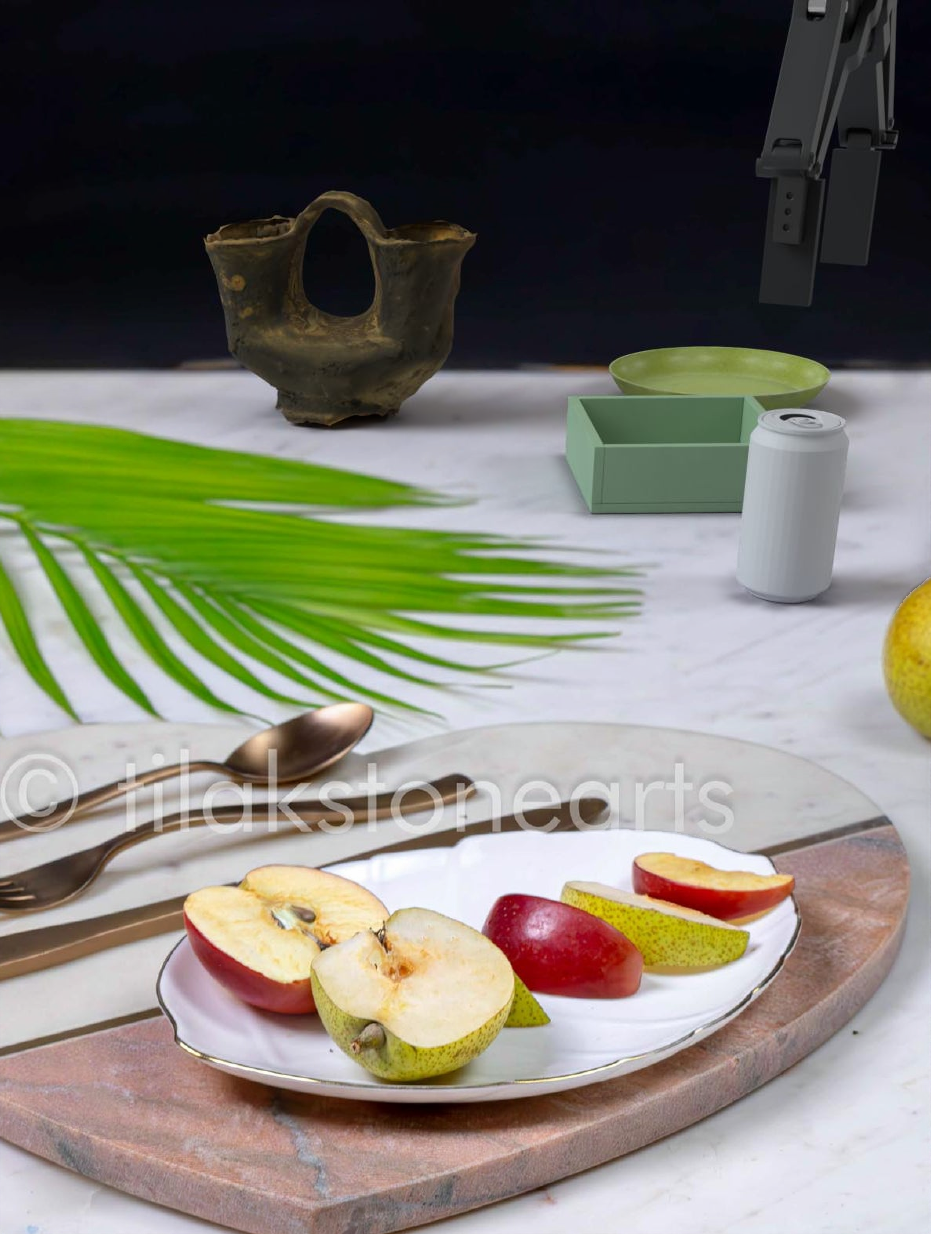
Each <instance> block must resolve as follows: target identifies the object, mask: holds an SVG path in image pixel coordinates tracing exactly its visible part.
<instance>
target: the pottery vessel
mask: <svg viewBox="0 0 931 1234" xmlns="http://www.w3.org/2000/svg"><path fill="white" fill-rule="evenodd" d="M329 208H333V209H336V210H337V211H340V212H342V213H344V214H346V215H348V216H349V217H350V218H351V220H352V221H353V222H354V223H355V224H356V225H357V227H358V228H359V230H360V231H361V233H362V234H363V236H364V237H365V239H366V242H367V245H368V251H369V255H370V259H371V263H372V267H373V272H374V279H375V281H374V282H375V292H374V298H373V301H372V304H371V306H370V307H369V308H368V309H367V310H366V311H365V312H363V313H361V314H359V315H356V316H339V315H334V314H330V313H328V312H325V311H323V310H321V309H319V308H317V307H315V306H314V305H313V304H311V303H310V301H309V300H308V299H307V297H306V293H305V290H304V283H303V263H304V257H305V251H306V246H307V241H308V236H309V233H310V231H312V230H311V229H312V228H313V226H314V225H315V223H316V222H317V220H319V218H320V217H321V214H322V213H323V212H324V211H326V209H329ZM477 235H478V232H477V233H472V232H470V231H469V230H467V229H465V228H463V227H462V226H460V225H459V224H458V223H453V222H452V223H451V222H448V221H445V220H434V221H433V220H431V221H417V222H412V223H408V224H401V225H399V226H397V227H394V228H392V229H388V228H386V227H385V226H384V224H383V221H382V219H381V217H380V216H379V214H378V212H377V211H376V210H375V208H373V207H372V206H371V203H370V202H369V201H367V200H365V199H363V198H362V197H361V196H357V195H355V194H354V193H351V192H348V191H336V190H330V191H326V192H324V193H322V194H321V195H318V197H317V198H316V199H315V200H314V201H312V202H310V204H309V205H308V206H306V208H305V209H304V210H303V211H302V212H300V213H299V214H298V216H296V218H293V217H287V218H286V217H283V216H281V215H277V214H276V215H274V216H273V217H272V218H266V219H254V220H249V221H240V222H234V223H229V224H226V225H222V226H220V227H219V230H217V231H216V232H215V233H213V234H212V233H211V234H207V237H206V238H205V237H203V241H204V245H205V251H206V253H207V255H208V258H209V260H210V262H211V266H212V268H213V271H214V274H215V276H216V277H215V278H216V281H217V285H218V286H217V287H218V292H219V297H220V301H221V305H222V309H223V313H224V320H225V321H224V322H225V330H226V337H227V343H228V352H229V353H231V355H232V357H233V358H234V359H236V361H237V362H238V363H240V364H241V365H242V366H243V367H244V368H245V369H247V370H248V371H250V372H251V373H253V374H254V375H255V376H256V377H259V378H260V379H262V380H263V381H264V382H265V383H267V384H268V385H269V386H270V387H272V388H274V389H275V390H277V391H276V392H277V393H276V395H277V396H276V397H277V399H276V404H275V409H276V410H277V411H279V410H280V409H282V411H281V412H280V414H282V415H283V416H284V418H285V420H286V421H287V422H289V423H295V424H303V423H304V424H305V422H309V423H312V424H313V423H316V424H321V425H326V426H327V425H328V427H330V426H331V425H333V424H336V423H338V422H340V421H342V420H344V419H346V418H349V417H352V416H361V417H362V416H363V417H364V416H370V415H373V414H374V415H375V414H376V415H379V416H381V417H383V416H386V415H387V413H388V414H389V415H390V417H392V419H395V416H397V414H399V413H400V408H401V407H402V405H403V403H404V402H406V400H407V399H409V398H410V397H412V396H414V395H416V393H417V392H418V391H419V390H420V389H421V387H422V386H423V385H424V384H425V383H426V382H427V381H429V380H430V379H432V378H433V377H434V376H435V375H436V374H437V373H438V372H439V371H440V369H441V368H442V367H443V365H444V364H445V362H446V360H447V359H448V356H449V355H450V353H451V351H452V348H453V339H454V333H455V331H454V330H455V329H454V322H455V321H454V320H455V302H456V297H457V296H458V293H459V292H460V289H461V288H460V287H461V267H462V262H463V260H464V258H465V256H466V254H467V252H468V251H469V250H470V249H471V248H472V247H473V246H474V245H475V243H476V240H477V239H476V238H477Z"/></svg>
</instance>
